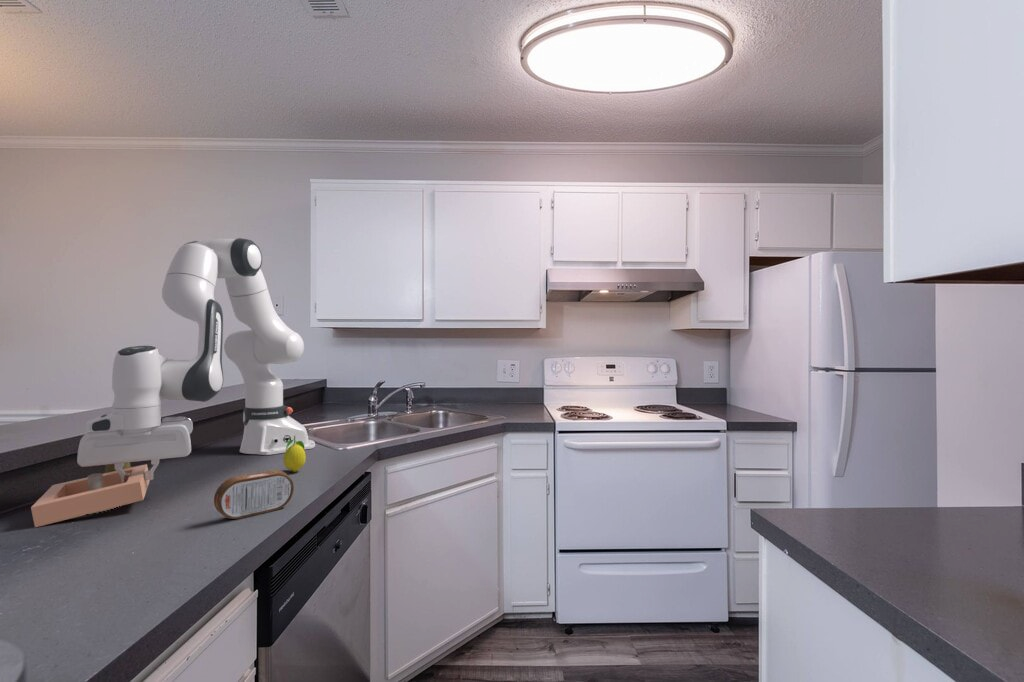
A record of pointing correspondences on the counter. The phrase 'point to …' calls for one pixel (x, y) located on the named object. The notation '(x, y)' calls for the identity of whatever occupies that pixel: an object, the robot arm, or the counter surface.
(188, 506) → the counter surface
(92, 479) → the mushroom
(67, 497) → the pink square frame
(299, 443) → the lemon
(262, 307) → the robot arm
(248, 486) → the tin
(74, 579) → the counter surface
